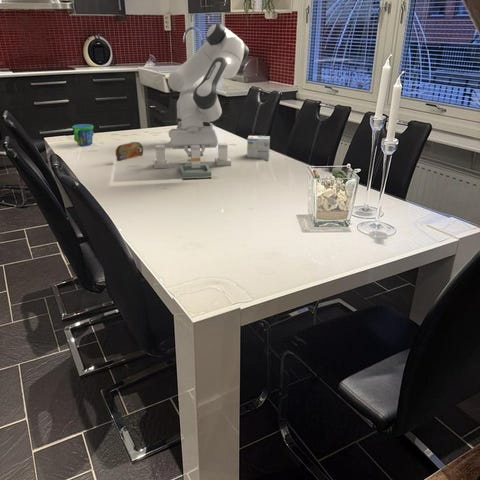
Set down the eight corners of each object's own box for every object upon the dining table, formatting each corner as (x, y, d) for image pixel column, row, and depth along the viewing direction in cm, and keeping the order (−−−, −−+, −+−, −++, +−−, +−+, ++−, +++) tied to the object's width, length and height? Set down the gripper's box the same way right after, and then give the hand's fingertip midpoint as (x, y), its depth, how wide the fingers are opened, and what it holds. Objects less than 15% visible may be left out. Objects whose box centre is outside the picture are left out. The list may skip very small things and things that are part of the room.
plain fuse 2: (218, 162, 214) (218, 143, 211) (226, 162, 215) (226, 143, 211) (219, 164, 211) (219, 145, 208) (227, 164, 212) (227, 144, 208)
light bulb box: (269, 157, 231) (270, 135, 226) (268, 161, 224) (269, 138, 220) (247, 156, 231) (248, 135, 227) (246, 160, 225) (247, 137, 221)
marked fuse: (191, 165, 200) (190, 144, 196) (199, 165, 201) (198, 144, 197) (192, 167, 197) (191, 146, 193) (200, 167, 197) (199, 146, 194)
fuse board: (153, 167, 212) (153, 159, 210) (228, 163, 218) (228, 156, 217) (154, 172, 204) (153, 164, 202) (231, 169, 210) (231, 161, 209)
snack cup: (84, 148, 242) (81, 129, 238) (67, 147, 245) (64, 127, 241) (102, 142, 255) (100, 124, 251) (86, 141, 259) (83, 122, 254)
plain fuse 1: (157, 165, 209) (155, 145, 205) (165, 164, 210) (164, 145, 206) (157, 167, 206) (156, 147, 202) (165, 167, 207) (164, 146, 203)
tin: (119, 164, 216) (118, 146, 212) (115, 163, 217) (113, 145, 214) (144, 158, 227) (142, 140, 223) (139, 157, 228) (138, 139, 225)
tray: (180, 172, 205) (180, 165, 203) (207, 171, 207) (207, 164, 206) (182, 180, 194) (182, 173, 193) (211, 178, 196) (211, 172, 195)
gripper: (168, 124, 196) (170, 152, 191) (216, 123, 200) (219, 151, 195) (168, 133, 202) (170, 160, 197) (214, 131, 206) (218, 158, 201)
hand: (195, 155), depth 196 cm, fingers closed on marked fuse, 4 cm apart
